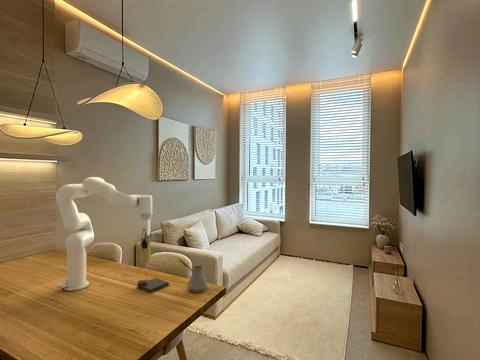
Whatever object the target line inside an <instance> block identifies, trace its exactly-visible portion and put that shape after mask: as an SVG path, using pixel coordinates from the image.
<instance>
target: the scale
mask: <svg viewBox="0 0 480 360" xmlns="http://www.w3.org/2000/svg"><path fill="white" fill-rule="evenodd" d="M169 286H170V282H168V281H166V280H164V279H161V278H157V277H153V278H151V279H149V280H147V279H145V282H143V283H140V280H138V281H137V288H138V289H139V290H143V291H145V292H148V293H151V294H152V293H154V292H156V291H159V290H160V289H163V288H166V287H169Z"/></svg>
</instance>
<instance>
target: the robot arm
mask: <svg viewBox="0 0 480 360" xmlns="http://www.w3.org/2000/svg"><path fill="white" fill-rule="evenodd" d="M93 194H94V195H97V196H99V197H101V198H104V199H106V200H107V201H109V202H110V203H111V204H113V205H115V206H118V207H121V208H123V209H128V210H130V209H134V208H138V220H139V230H138V231H139V232H138V237H139V238H141V237H142V249H147V248H148V241H147V237H150V234H151V220H152V219H153V196H152V195H150V194H142V195H140V194H125V193H123V192H121V191H119V190H117V189H116V186H115V185H114V184H112V183H109V182H106V180H104V179H103V178H102V177H99V176H98V177H97V176H90V177H87V178H85V179H84V180H83V182H81V183H69V184H64V185H62V186H61V187H60V188H59V189H58V190H57V192H56V194H55V200H56V205H57V207H58V210H59V213H60V218H61V220H62V224H63V228H64V229H65V230H66V231H68V232H73V233H71V234H69V235H68V236H67V237H66V239H65V243H64V244H65V249H66V279H65V280H64V281H63V282H62V283H58V284H57V285H56V288H57V289H60V288H62V289H63V290H64V291H66V292H67V291H69V292H71V291H72V292H73V291H79V290H82V289H86V288H87V287H89V285H90V282H89V281H88V280H87V251H86V249H85V247H86V246H88V245H90V244H92V243H93V242H94V239H95V232H94V230H93V226H92V221H91V219H90V217H89V216H88V214H86V213H85V212H79V210H78V207H77V204H76V203H75V201H74V199H81V198H85V197H88V196H91V195H93ZM74 231H76V232H74ZM145 237H146V238H145Z"/></svg>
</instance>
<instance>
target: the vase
mask: <svg viewBox="0 0 480 360" xmlns="http://www.w3.org/2000/svg"><path fill="white" fill-rule="evenodd" d="M145 238H146V237H145ZM147 241H148V248H147V249H142V236H141V237H140V247H139V248H140V253H139V254H140V255H139V263H140V264H149V263H150V262H151V261H152V260H151V237H150V236H149V237H147Z"/></svg>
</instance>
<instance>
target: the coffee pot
mask: <svg viewBox="0 0 480 360" xmlns="http://www.w3.org/2000/svg"><path fill="white" fill-rule="evenodd" d="M177 262H178V263H182V265H183V266H184V267H186V268H187V269H189V270H190V271H191V272H192V273H191V275H190V278H189V279H188V281H187V285H186V286H187V288H188V290H190V291H191V292H193V293H201V292H204V290H205V289H207V287H208V282H207V279H206V277H205V274H204V271H203V270H204V266H203V265H194V266H192V267H190V266H189V265H188V264H187V263H186V262H184V261H183V260H181V259H180V258H179V259H178V260H177Z"/></svg>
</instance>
